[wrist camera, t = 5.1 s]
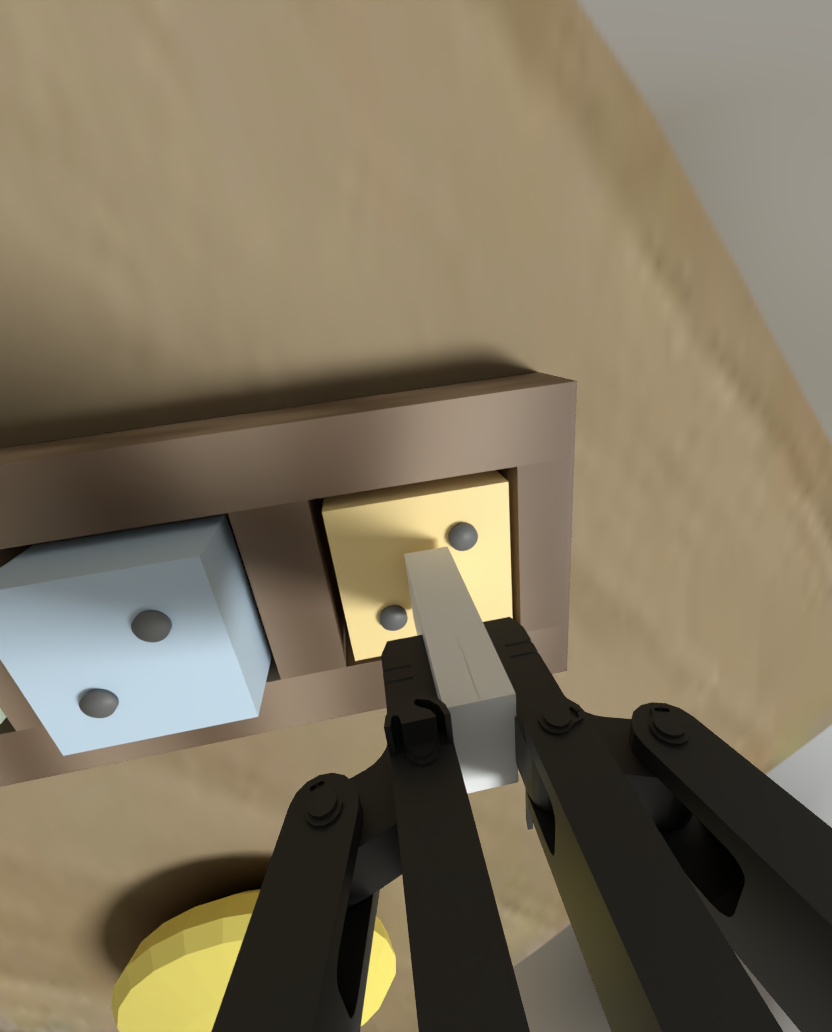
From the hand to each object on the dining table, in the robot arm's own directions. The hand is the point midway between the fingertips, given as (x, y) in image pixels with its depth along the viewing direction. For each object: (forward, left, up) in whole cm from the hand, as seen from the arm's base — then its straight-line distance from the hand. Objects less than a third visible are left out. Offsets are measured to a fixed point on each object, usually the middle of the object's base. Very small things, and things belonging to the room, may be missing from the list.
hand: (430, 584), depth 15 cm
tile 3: (0, 0, -4) cm, 4 cm away
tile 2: (-10, 0, -2) cm, 10 cm away
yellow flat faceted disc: (-13, -26, -4) cm, 29 cm away
